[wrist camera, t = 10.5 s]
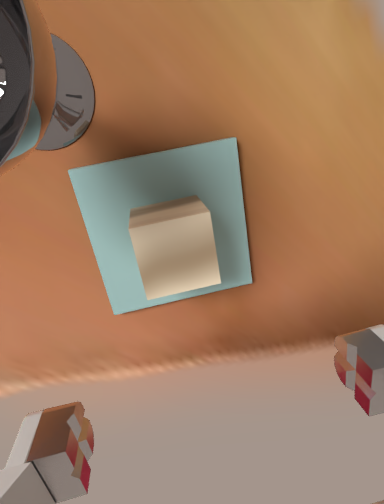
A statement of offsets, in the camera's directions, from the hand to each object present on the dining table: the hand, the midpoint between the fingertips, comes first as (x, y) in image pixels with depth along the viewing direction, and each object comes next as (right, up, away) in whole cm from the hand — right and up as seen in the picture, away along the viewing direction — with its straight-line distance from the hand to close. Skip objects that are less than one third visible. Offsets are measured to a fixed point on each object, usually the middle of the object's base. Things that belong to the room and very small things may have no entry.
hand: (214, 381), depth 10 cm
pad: (-2, +6, +15) cm, 17 cm away
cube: (-2, +6, +15) cm, 16 cm away
